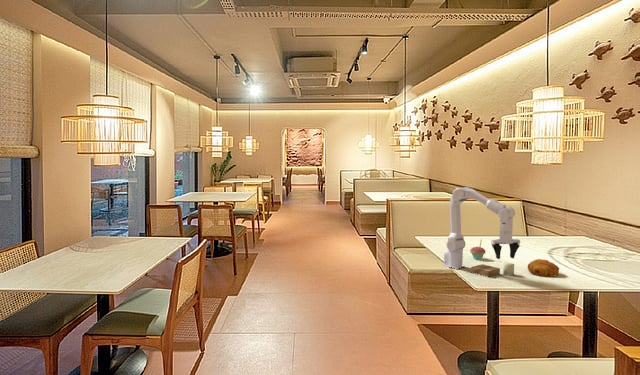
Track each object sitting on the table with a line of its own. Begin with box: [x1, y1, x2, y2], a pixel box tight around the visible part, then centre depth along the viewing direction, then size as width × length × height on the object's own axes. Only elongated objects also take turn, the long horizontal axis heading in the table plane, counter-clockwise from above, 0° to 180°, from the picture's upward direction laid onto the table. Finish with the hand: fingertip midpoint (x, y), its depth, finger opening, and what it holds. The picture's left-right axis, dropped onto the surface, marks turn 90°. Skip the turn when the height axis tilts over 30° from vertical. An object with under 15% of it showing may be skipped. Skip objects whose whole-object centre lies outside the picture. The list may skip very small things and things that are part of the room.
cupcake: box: [469, 238, 486, 260], centre depth 247 cm, size 9×8×12 cm
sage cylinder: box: [502, 262, 515, 277], centre depth 215 cm, size 5×5×6 cm
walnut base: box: [470, 263, 501, 278], centre depth 217 cm, size 10×10×3 cm
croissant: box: [527, 258, 560, 278], centre depth 217 cm, size 14×16×8 cm
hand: (505, 258), depth 208 cm, fingers open, 7 cm apart
